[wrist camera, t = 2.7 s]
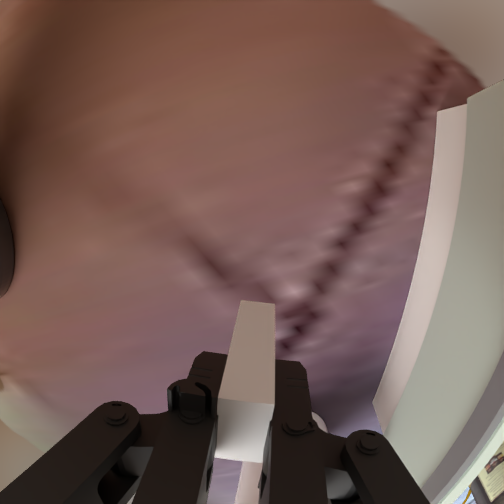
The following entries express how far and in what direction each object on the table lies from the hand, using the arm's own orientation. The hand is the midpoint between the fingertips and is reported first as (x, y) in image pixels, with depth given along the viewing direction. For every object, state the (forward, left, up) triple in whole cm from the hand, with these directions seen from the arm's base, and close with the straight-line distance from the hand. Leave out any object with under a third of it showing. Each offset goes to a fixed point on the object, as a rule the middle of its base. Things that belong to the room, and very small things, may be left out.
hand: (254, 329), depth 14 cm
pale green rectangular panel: (+12, 0, +1) cm, 12 cm away
